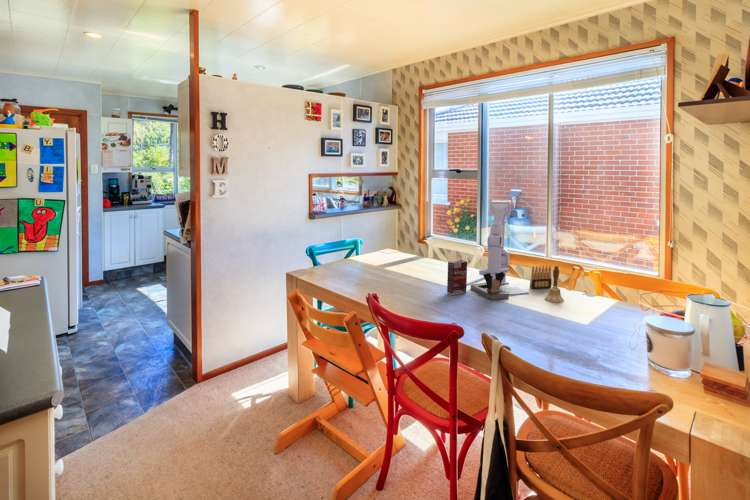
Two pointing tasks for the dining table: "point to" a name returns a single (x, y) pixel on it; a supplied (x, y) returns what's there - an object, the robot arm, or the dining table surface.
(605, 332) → the dining table surface
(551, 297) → the hand bell
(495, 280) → the walnut peg
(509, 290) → the blue-grey board
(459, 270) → the supplement box
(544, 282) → the ammunition clip
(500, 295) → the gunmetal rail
